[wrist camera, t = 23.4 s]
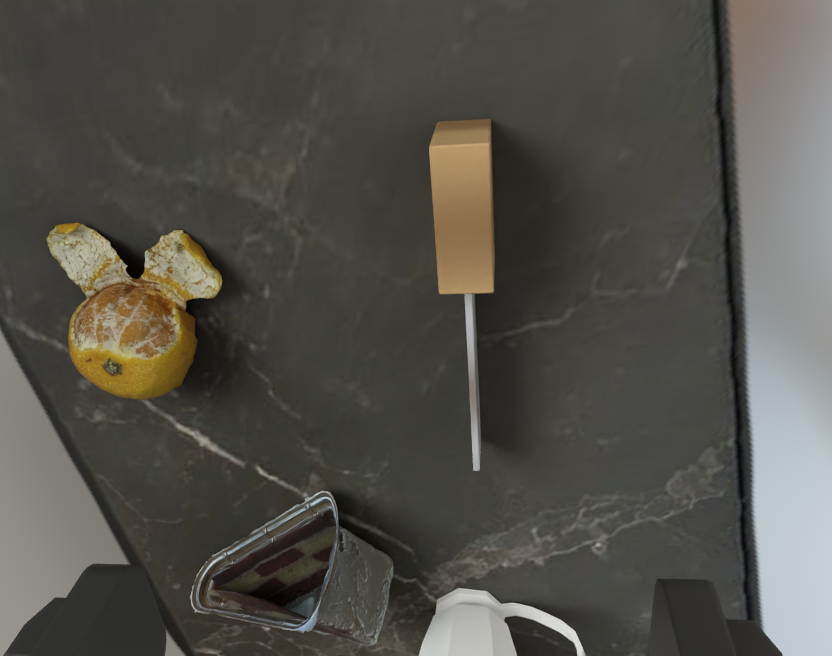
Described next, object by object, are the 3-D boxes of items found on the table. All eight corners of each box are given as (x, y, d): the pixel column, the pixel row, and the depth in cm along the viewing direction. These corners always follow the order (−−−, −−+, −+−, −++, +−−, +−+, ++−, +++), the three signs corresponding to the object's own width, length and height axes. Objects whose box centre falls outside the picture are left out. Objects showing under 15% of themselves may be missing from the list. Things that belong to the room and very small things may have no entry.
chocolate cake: (270, 632, 47) (371, 739, 37) (180, 596, 43) (268, 705, 33) (346, 500, 49) (461, 568, 39) (268, 454, 45) (374, 517, 36)
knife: (436, 121, 30) (428, 145, 26) (491, 118, 29) (489, 142, 26) (456, 437, 37) (452, 487, 34) (499, 437, 37) (499, 488, 34)
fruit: (223, 236, 33) (193, 269, 30) (232, 388, 37) (206, 431, 34) (46, 216, 33) (-2, 247, 30) (75, 368, 38) (35, 410, 34)
